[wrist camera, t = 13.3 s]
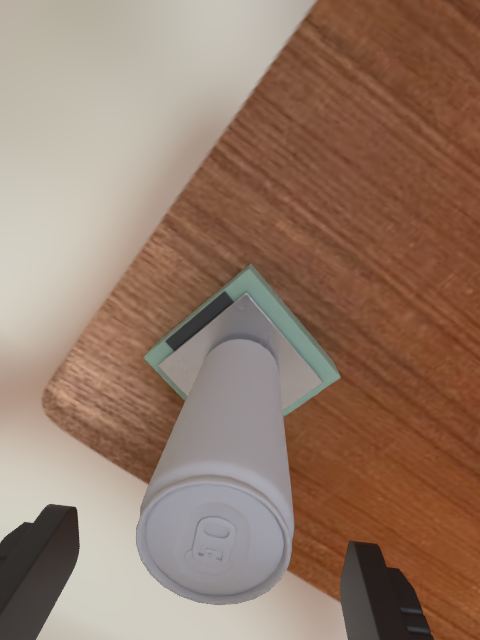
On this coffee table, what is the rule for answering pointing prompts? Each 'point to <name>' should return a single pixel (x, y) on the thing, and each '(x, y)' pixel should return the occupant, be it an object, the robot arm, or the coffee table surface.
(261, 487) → the beverage can
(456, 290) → the coffee table surface
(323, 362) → the scale
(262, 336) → the scale pan
